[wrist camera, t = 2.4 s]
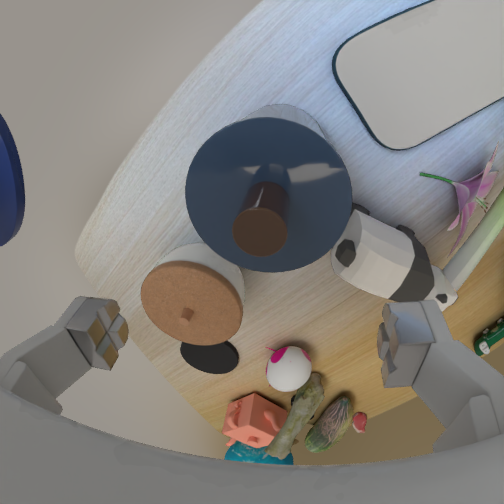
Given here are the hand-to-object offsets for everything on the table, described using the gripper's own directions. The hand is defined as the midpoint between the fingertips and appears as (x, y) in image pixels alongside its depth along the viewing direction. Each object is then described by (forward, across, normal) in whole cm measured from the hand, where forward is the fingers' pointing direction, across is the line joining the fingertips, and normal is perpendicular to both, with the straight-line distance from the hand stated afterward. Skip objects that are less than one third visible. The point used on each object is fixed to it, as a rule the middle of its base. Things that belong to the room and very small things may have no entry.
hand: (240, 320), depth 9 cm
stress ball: (+23, +1, +28) cm, 36 cm away
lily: (+22, -13, +4) cm, 26 cm away
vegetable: (+20, -5, +58) cm, 62 cm away
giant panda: (+23, -10, +10) cm, 27 cm away
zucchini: (+11, +3, +40) cm, 42 cm away
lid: (+9, 0, 0) cm, 9 cm away
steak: (+23, -15, +52) cm, 59 cm away
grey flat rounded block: (+23, -17, -10) cm, 30 cm away
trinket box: (+23, +10, +14) cm, 28 cm away
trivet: (+23, +13, +29) cm, 39 cm away
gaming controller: (+23, -33, +27) cm, 48 cm away
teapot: (+23, +7, +44) cm, 50 cm away
